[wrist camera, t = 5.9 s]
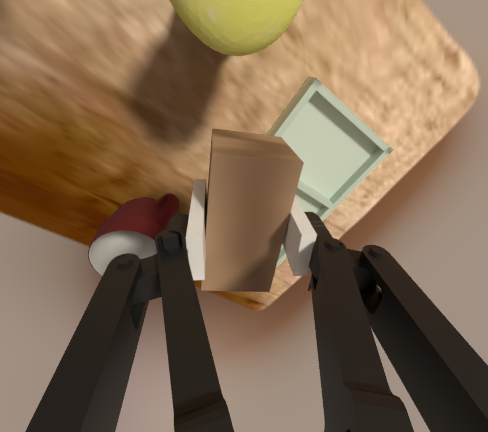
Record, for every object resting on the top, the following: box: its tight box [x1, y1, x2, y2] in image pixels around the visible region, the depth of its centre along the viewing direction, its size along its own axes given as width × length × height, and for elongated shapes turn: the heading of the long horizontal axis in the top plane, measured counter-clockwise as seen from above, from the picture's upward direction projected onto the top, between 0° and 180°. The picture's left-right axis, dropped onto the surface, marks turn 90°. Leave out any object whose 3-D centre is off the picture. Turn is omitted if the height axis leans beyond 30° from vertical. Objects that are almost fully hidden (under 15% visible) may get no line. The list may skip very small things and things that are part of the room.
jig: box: [267, 76, 393, 268], centre depth 36 cm, size 14×26×2 cm, turn 145°
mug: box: [88, 194, 179, 276], centre depth 31 cm, size 10×8×10 cm
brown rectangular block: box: [201, 129, 304, 292], centre depth 17 cm, size 4×9×5 cm, turn 172°
